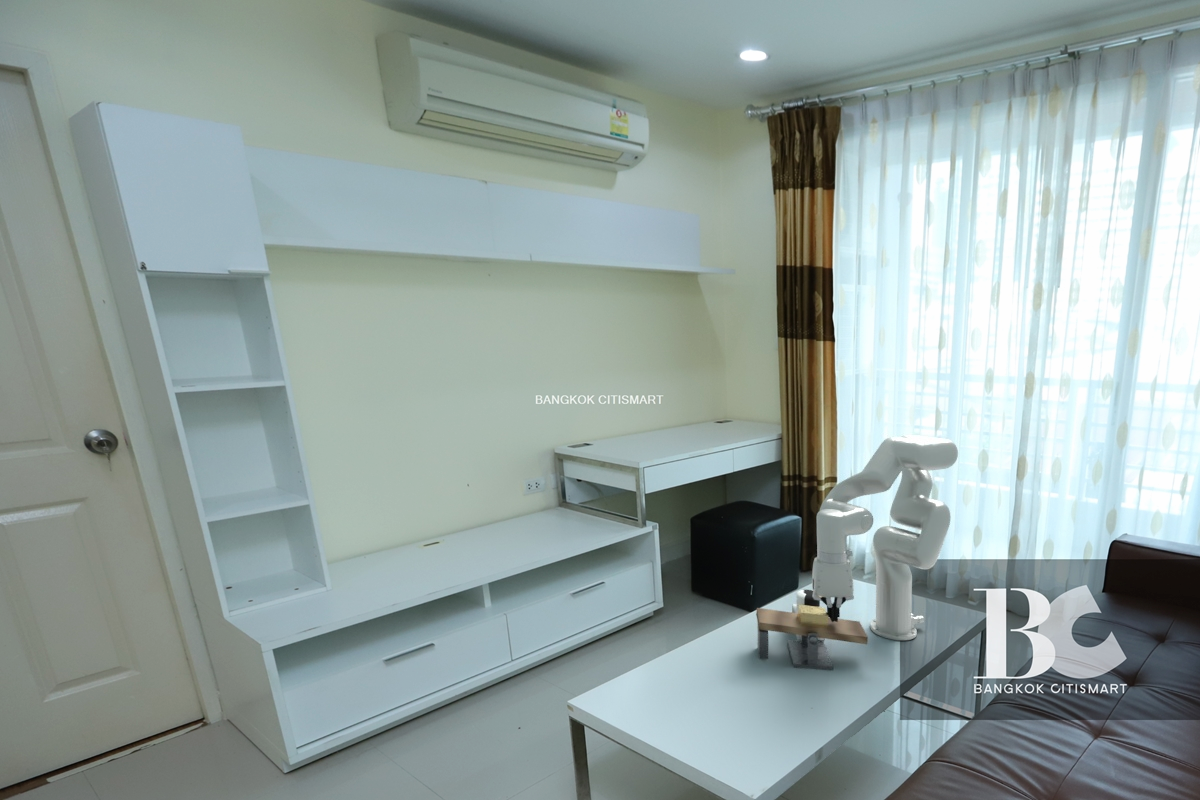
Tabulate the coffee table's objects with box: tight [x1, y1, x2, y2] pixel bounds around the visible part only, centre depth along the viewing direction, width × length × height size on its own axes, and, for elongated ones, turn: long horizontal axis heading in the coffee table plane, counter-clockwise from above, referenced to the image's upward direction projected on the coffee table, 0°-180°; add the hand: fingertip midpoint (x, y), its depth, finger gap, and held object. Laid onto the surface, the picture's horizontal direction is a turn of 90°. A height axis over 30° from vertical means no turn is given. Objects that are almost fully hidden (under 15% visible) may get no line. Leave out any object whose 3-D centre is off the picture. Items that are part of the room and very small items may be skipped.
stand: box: [757, 626, 834, 671], centre depth 166 cm, size 19×14×10 cm
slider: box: [797, 605, 828, 628], centre depth 164 cm, size 7×5×4 cm
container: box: [791, 589, 825, 641], centre depth 177 cm, size 8×8×13 cm
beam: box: [755, 607, 869, 645], centre depth 165 cm, size 28×9×2 cm, turn 79°
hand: (833, 619), depth 164 cm, fingers closed
